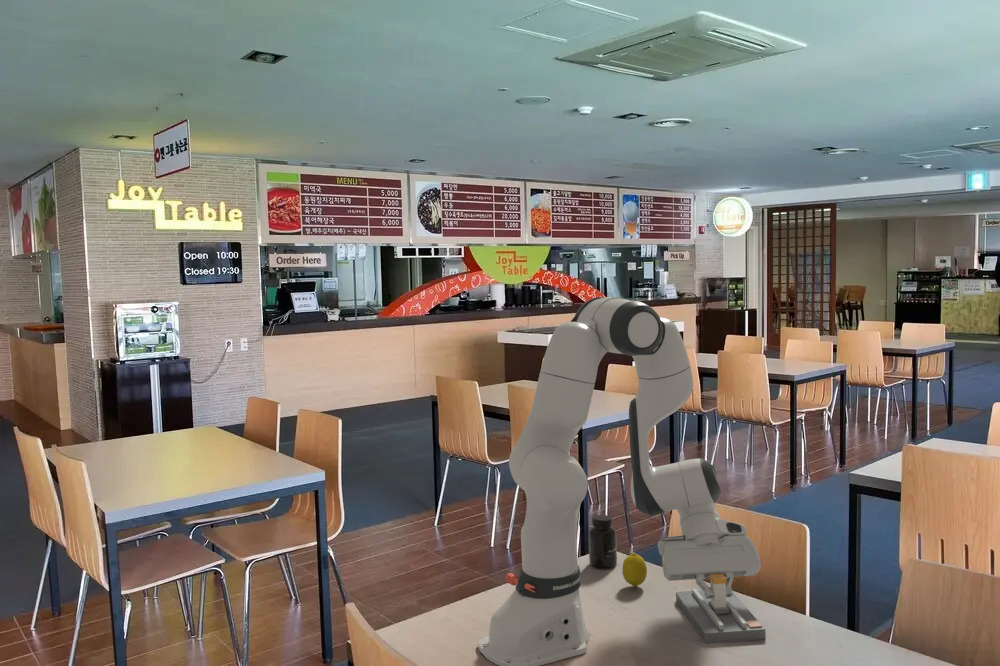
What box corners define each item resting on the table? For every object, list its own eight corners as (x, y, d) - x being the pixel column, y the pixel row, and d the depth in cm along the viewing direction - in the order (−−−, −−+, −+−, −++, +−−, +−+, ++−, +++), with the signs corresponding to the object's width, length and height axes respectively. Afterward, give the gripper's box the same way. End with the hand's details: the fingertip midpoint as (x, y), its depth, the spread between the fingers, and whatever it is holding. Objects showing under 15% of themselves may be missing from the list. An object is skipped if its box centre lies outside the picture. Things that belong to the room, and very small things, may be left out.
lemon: (650, 584, 182) (649, 551, 182) (641, 593, 177) (640, 559, 177) (628, 580, 185) (627, 547, 184) (619, 589, 180) (617, 555, 180)
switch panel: (676, 600, 173) (675, 587, 172) (729, 597, 173) (729, 584, 173) (704, 643, 153) (704, 628, 153) (765, 639, 153) (765, 624, 153)
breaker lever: (708, 606, 164) (707, 573, 164) (722, 605, 164) (721, 572, 164) (714, 614, 160) (713, 580, 160) (729, 613, 160) (728, 579, 160)
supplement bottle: (616, 570, 192) (614, 522, 191) (588, 569, 193) (586, 521, 192) (618, 560, 198) (616, 513, 198) (590, 559, 200) (589, 513, 199)
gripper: (658, 530, 168) (672, 593, 159) (752, 524, 169) (771, 587, 160) (653, 544, 172) (666, 606, 163) (745, 538, 173) (763, 599, 164)
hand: (719, 596), depth 162 cm, fingers closed on breaker lever, 2 cm apart
